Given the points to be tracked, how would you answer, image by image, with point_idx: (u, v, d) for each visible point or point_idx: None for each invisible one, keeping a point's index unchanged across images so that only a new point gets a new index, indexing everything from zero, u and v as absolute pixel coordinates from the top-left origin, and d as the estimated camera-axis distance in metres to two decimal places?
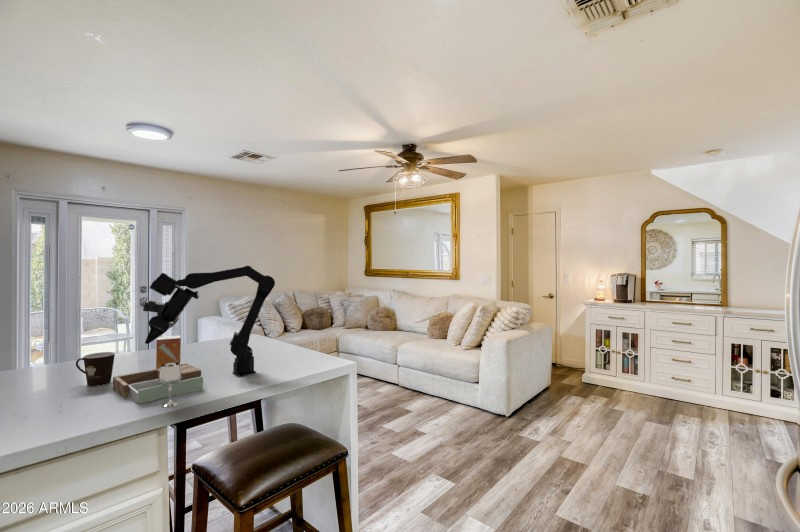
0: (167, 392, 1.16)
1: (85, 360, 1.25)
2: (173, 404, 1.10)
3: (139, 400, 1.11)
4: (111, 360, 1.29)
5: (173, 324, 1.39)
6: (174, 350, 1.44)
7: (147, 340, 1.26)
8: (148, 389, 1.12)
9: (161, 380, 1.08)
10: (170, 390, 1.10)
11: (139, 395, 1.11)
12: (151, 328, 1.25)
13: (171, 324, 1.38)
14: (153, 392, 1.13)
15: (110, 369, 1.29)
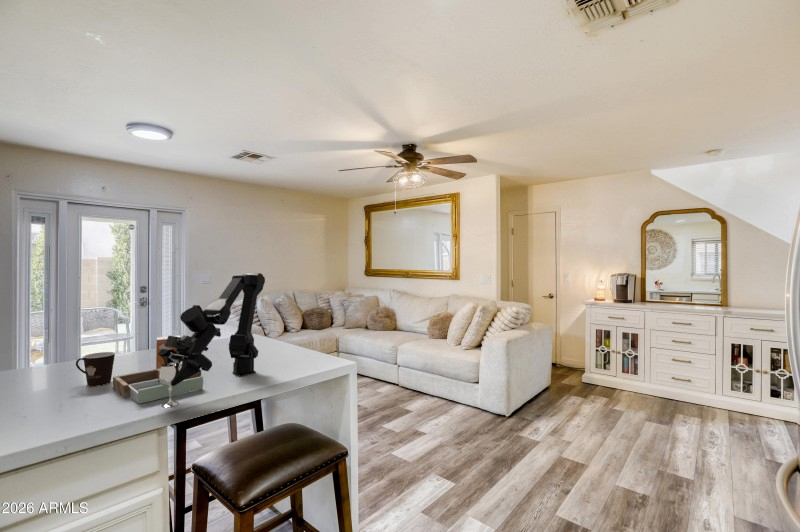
0: (167, 392, 1.16)
1: (85, 360, 1.25)
2: (173, 404, 1.10)
3: (139, 400, 1.11)
4: (111, 360, 1.29)
5: None
6: None
7: (175, 381, 1.08)
8: (148, 389, 1.12)
9: (161, 380, 1.08)
10: (170, 390, 1.10)
11: (139, 395, 1.11)
12: (186, 367, 1.10)
13: None
14: (153, 392, 1.13)
15: (110, 369, 1.29)
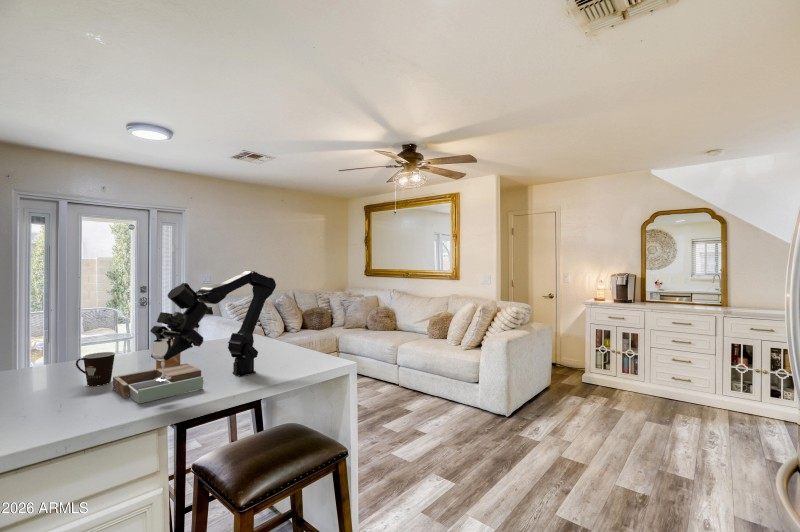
0: (167, 392, 1.16)
1: (85, 360, 1.25)
2: (166, 378, 1.14)
3: (139, 400, 1.11)
4: (111, 360, 1.29)
5: None
6: None
7: (167, 356, 1.12)
8: (148, 389, 1.12)
9: (154, 355, 1.12)
10: (163, 365, 1.14)
11: (139, 395, 1.11)
12: (178, 342, 1.14)
13: None
14: (153, 392, 1.13)
15: (110, 369, 1.29)
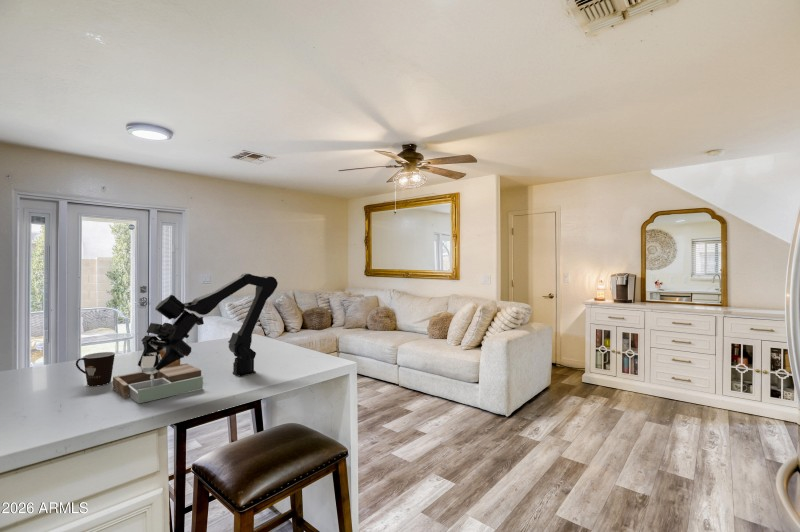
0: (167, 392, 1.16)
1: (85, 360, 1.25)
2: None
3: (139, 400, 1.11)
4: (111, 360, 1.29)
5: None
6: None
7: (159, 366, 1.16)
8: (148, 389, 1.12)
9: (143, 369, 1.16)
10: (152, 378, 1.18)
11: (139, 395, 1.11)
12: (169, 352, 1.17)
13: (157, 351, 1.26)
14: (153, 392, 1.13)
15: (110, 369, 1.29)
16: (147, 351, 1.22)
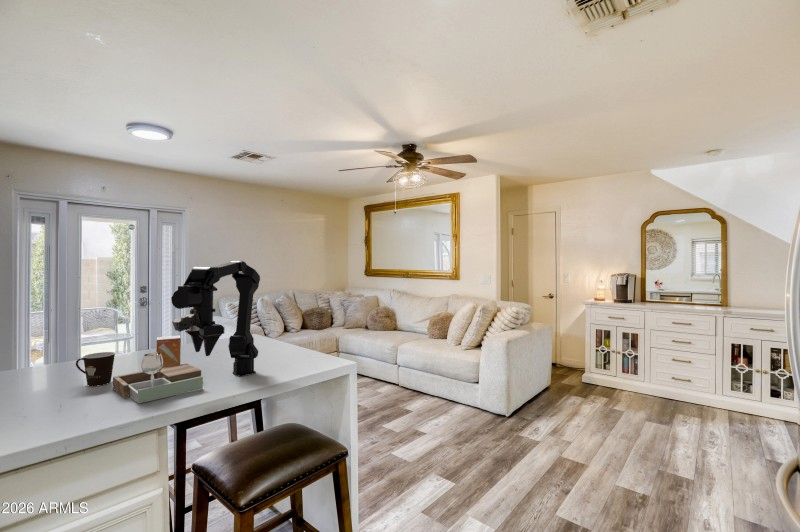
0: (167, 392, 1.16)
1: (85, 360, 1.25)
2: None
3: (139, 400, 1.11)
4: (111, 360, 1.29)
5: None
6: (174, 350, 1.44)
7: (207, 352, 1.16)
8: (148, 389, 1.12)
9: (143, 368, 1.16)
10: (152, 378, 1.18)
11: (139, 395, 1.11)
12: (205, 339, 1.14)
13: None
14: (153, 392, 1.13)
15: (110, 369, 1.29)
16: (194, 337, 1.21)
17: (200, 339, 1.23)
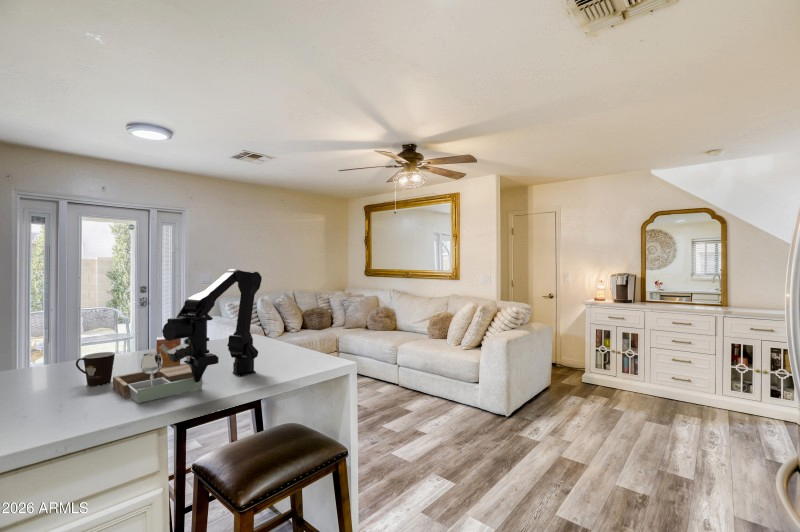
0: (166, 391, 1.17)
1: (85, 360, 1.25)
2: None
3: (138, 399, 1.11)
4: (111, 360, 1.29)
5: None
6: None
7: (197, 379, 1.22)
8: (147, 388, 1.13)
9: (143, 368, 1.16)
10: (151, 378, 1.19)
11: (138, 394, 1.11)
12: (195, 367, 1.20)
13: None
14: (152, 391, 1.14)
15: (110, 369, 1.29)
16: None
17: None
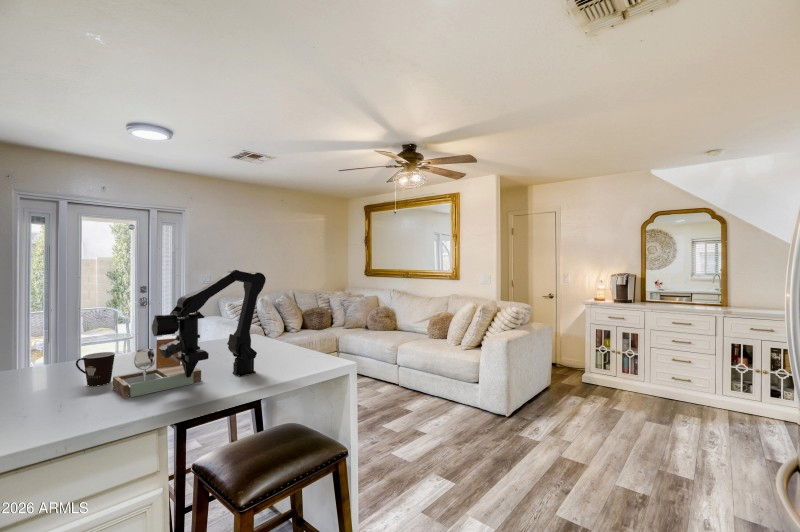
0: (158, 386, 1.21)
1: (85, 360, 1.25)
2: None
3: (131, 394, 1.16)
4: (111, 360, 1.29)
5: None
6: None
7: (188, 374, 1.27)
8: (140, 383, 1.18)
9: (136, 364, 1.21)
10: (144, 373, 1.24)
11: (131, 389, 1.16)
12: (186, 363, 1.25)
13: None
14: (145, 386, 1.19)
15: (110, 369, 1.29)
16: None
17: None
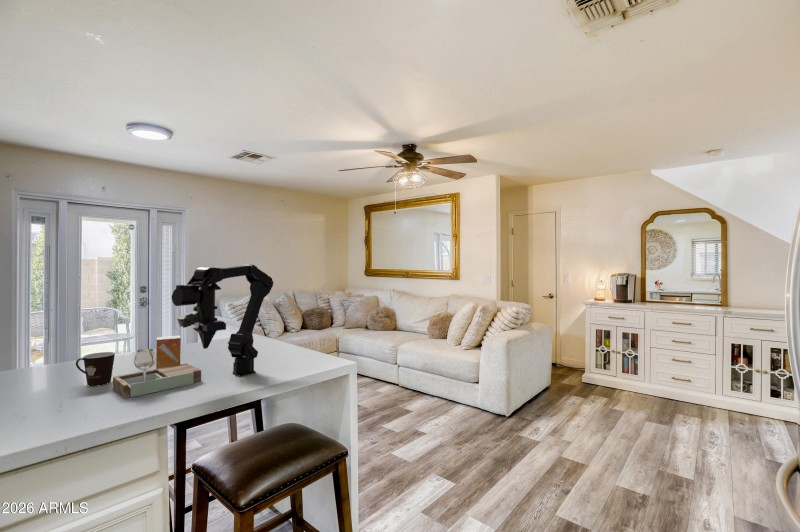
0: (158, 386, 1.21)
1: (85, 360, 1.25)
2: None
3: (131, 394, 1.16)
4: (111, 360, 1.29)
5: None
6: (174, 350, 1.44)
7: (205, 345, 1.27)
8: (140, 383, 1.18)
9: (136, 364, 1.21)
10: (144, 373, 1.24)
11: (131, 389, 1.16)
12: (204, 333, 1.25)
13: None
14: (145, 386, 1.19)
15: (110, 369, 1.29)
16: None
17: None
